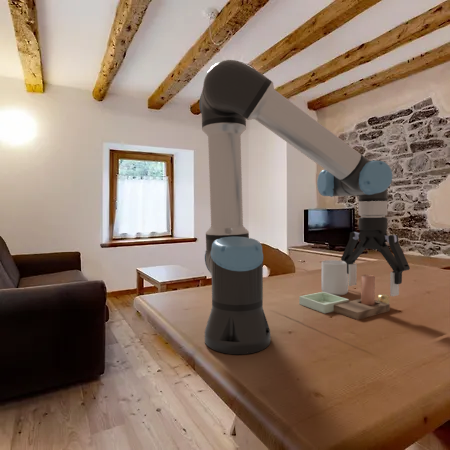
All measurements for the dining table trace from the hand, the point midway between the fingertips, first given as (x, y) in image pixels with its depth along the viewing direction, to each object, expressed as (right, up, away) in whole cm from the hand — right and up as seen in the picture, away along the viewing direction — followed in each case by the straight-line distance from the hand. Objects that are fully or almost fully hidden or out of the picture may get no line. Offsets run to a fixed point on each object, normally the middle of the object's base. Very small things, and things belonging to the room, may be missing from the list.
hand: (372, 290), depth 93 cm
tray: (-13, -6, +5) cm, 15 cm away
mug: (-3, -6, +22) cm, 23 cm away
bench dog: (+5, -6, +3) cm, 8 cm away
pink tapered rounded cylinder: (-1, -6, +1) cm, 6 cm away
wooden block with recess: (-3, -7, 0) cm, 8 cm away
